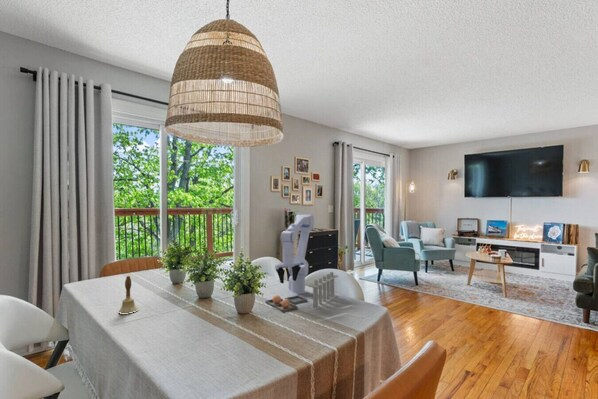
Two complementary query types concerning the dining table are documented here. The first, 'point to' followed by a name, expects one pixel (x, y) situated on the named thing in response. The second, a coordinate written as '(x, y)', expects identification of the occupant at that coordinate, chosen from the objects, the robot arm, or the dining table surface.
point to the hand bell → (128, 299)
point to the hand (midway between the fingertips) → (288, 281)
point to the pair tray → (279, 306)
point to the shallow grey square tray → (296, 299)
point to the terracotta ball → (276, 299)
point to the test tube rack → (327, 290)
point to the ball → (285, 303)
